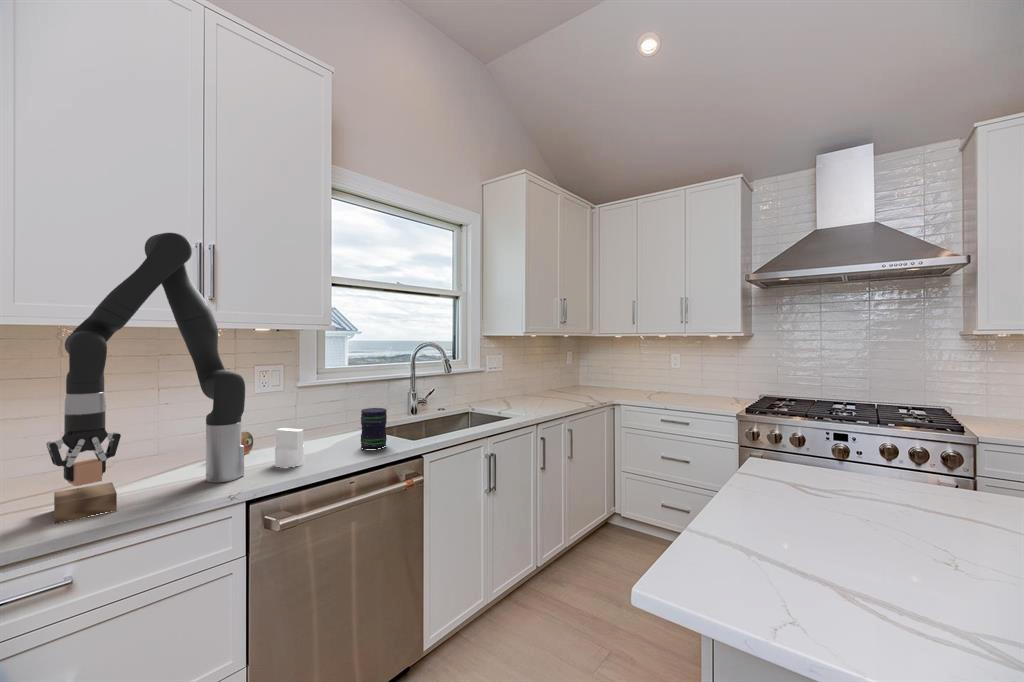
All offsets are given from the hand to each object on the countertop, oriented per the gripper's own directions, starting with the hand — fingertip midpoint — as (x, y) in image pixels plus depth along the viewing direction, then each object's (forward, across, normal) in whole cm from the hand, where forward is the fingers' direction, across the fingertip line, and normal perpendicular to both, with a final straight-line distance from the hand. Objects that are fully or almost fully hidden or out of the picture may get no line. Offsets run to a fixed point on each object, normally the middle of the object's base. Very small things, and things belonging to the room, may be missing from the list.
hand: (85, 477), depth 115 cm
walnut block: (+9, 0, 0) cm, 9 cm away
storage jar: (+8, -84, +11) cm, 85 cm away
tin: (+8, -47, -20) cm, 52 cm away
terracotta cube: (+1, 0, 0) cm, 1 cm away
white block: (+8, -52, +5) cm, 53 cm away
